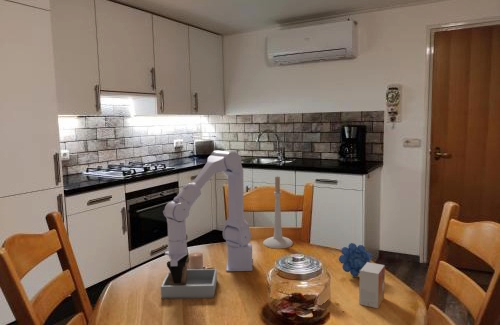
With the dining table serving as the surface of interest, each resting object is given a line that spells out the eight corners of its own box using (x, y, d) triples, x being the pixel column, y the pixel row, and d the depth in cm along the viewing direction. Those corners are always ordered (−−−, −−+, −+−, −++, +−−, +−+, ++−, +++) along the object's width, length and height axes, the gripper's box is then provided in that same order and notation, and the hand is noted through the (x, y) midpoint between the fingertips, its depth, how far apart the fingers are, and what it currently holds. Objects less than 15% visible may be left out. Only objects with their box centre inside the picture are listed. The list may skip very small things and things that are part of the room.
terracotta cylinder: (204, 270, 142) (203, 252, 142) (202, 276, 138) (201, 257, 137) (190, 271, 142) (190, 252, 142) (188, 276, 138) (188, 257, 137)
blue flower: (342, 282, 131) (342, 247, 129) (336, 274, 137) (337, 241, 136) (376, 281, 131) (377, 246, 130) (369, 273, 138) (370, 240, 136)
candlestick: (278, 237, 180) (277, 172, 176) (298, 243, 170) (298, 175, 167) (257, 243, 172) (256, 175, 168) (277, 250, 162) (277, 179, 158)
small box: (377, 309, 113) (378, 274, 111) (358, 304, 116) (359, 270, 114) (384, 298, 119) (385, 264, 118) (366, 293, 122) (366, 261, 121)
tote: (217, 280, 134) (216, 268, 134) (213, 297, 121) (213, 285, 121) (169, 280, 134) (169, 269, 134) (161, 298, 121) (160, 286, 121)
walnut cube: (187, 280, 130) (186, 266, 129) (184, 287, 125) (184, 272, 124) (172, 281, 130) (171, 266, 129) (169, 287, 125) (168, 272, 124)
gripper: (169, 232, 133) (170, 270, 134) (159, 246, 118) (161, 289, 120) (190, 231, 133) (191, 270, 134) (183, 246, 118) (184, 288, 120)
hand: (178, 279), depth 127 cm, fingers closed on walnut cube, 5 cm apart
